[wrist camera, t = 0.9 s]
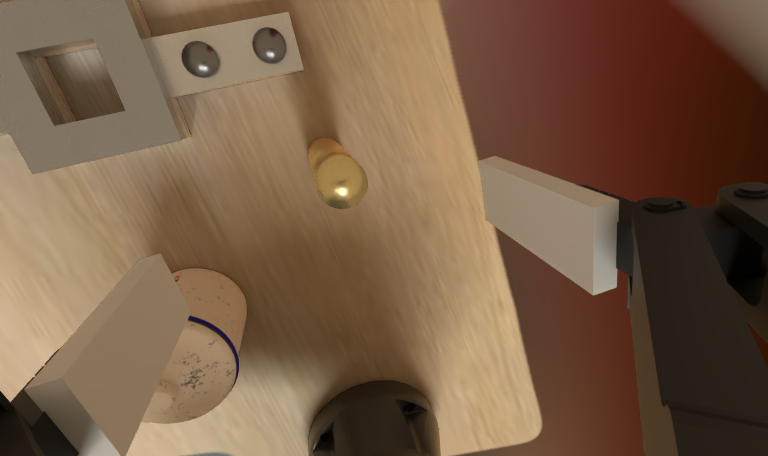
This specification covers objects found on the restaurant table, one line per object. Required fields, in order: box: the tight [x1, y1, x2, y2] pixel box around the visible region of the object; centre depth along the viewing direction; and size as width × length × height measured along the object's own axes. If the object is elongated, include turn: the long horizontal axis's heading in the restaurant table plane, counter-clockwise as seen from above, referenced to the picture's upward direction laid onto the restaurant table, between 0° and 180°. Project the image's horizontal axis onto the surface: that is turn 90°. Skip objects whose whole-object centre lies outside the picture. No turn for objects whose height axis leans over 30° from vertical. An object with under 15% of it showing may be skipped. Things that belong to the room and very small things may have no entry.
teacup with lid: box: [142, 268, 247, 424], centre depth 30 cm, size 12×9×12 cm
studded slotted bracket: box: [0, 0, 304, 174], centre depth 26 cm, size 10×30×4 cm, turn 102°
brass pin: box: [308, 138, 368, 209], centre depth 27 cm, size 3×3×12 cm
